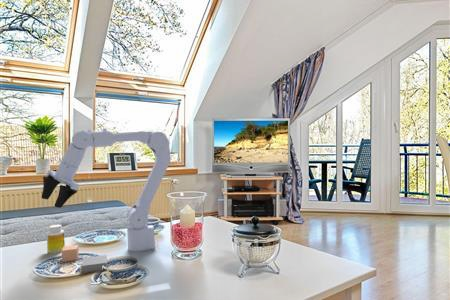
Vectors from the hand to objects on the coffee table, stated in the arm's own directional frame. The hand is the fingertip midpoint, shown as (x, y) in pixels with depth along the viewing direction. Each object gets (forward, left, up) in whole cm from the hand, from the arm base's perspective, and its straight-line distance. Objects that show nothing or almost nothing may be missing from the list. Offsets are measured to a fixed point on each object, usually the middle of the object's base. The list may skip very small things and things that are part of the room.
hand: (51, 202), depth 104 cm
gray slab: (-13, +12, -19) cm, 26 cm away
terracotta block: (-5, +1, -20) cm, 21 cm away
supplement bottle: (+1, -10, -20) cm, 23 cm away
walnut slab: (-13, +12, -21) cm, 27 cm away
